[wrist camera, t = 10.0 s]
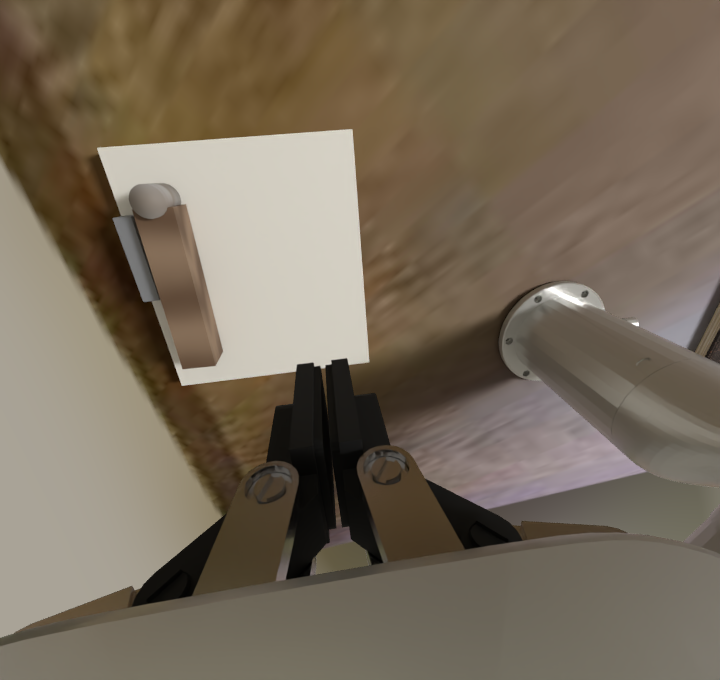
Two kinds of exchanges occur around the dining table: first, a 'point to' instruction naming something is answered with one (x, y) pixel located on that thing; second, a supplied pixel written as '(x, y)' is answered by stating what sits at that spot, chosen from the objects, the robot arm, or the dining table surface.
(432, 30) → the dining table surface
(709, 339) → the hardcover book
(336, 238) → the white flat square panel
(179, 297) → the folding leg
